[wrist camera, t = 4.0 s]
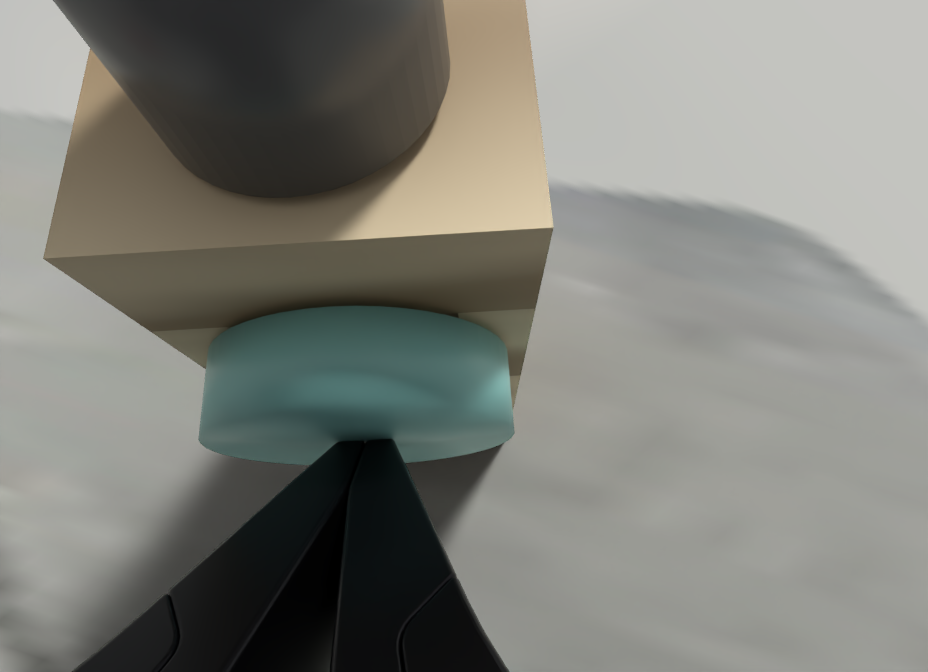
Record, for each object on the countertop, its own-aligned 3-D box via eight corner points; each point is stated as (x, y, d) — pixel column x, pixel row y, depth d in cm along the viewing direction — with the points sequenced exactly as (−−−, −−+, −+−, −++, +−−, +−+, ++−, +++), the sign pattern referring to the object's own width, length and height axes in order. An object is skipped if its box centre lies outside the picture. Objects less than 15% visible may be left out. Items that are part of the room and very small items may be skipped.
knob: (507, 457, 11) (524, 394, 6) (265, 471, 11) (127, 417, 6) (485, 183, 13) (488, 4, 9) (282, 196, 13) (187, 23, 9)
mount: (506, 438, 16) (554, 227, 6) (323, 449, 16) (43, 258, 6) (495, 304, 17) (518, -60, 7) (327, 314, 17) (108, -33, 7)
